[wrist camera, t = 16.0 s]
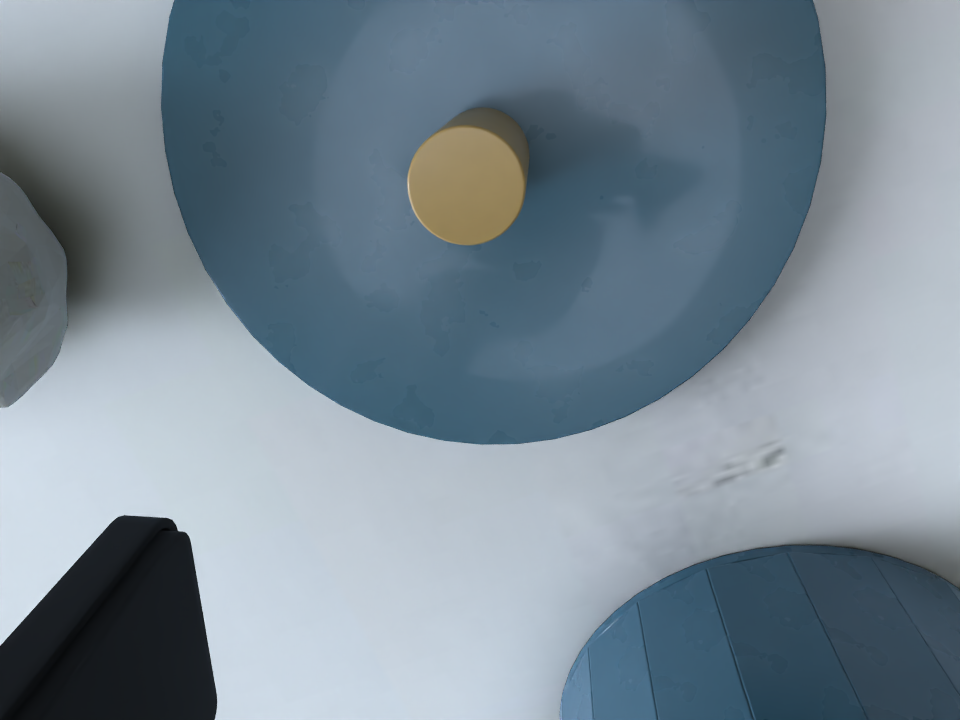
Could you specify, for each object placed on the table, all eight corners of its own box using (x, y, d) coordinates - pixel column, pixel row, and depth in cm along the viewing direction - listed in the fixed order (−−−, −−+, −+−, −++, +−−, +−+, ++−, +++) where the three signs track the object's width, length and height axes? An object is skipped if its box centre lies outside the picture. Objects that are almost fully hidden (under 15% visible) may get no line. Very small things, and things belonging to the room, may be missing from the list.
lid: (221, 418, 26) (132, 520, 20) (126, -229, 19) (-51, -347, 13) (759, 441, 25) (822, 556, 19) (877, -244, 18) (1036, -382, 12)
